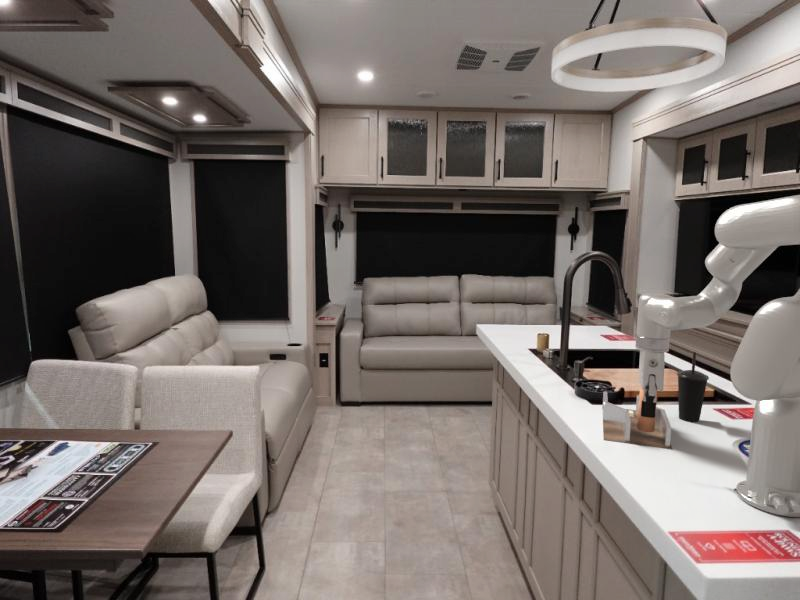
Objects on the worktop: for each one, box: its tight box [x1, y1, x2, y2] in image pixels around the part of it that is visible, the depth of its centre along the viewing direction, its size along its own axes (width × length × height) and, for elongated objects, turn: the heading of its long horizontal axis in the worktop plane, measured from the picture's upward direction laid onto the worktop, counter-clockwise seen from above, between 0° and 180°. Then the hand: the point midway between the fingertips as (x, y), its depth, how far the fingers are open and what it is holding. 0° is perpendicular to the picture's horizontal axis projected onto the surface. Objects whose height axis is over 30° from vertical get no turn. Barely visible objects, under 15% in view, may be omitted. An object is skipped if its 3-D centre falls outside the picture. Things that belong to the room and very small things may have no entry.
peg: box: [637, 384, 659, 432], centre depth 131 cm, size 4×4×12 cm
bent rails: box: [602, 390, 672, 448], centre depth 139 cm, size 24×15×5 cm, turn 159°
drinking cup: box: [676, 352, 710, 423], centre depth 143 cm, size 8×8×20 cm
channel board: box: [601, 405, 673, 450], centre depth 139 cm, size 26×16×1 cm, turn 159°
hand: (646, 412), depth 131 cm, fingers closed on peg, 4 cm apart
